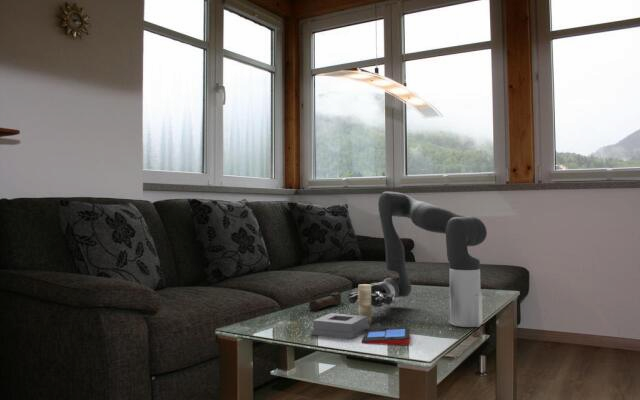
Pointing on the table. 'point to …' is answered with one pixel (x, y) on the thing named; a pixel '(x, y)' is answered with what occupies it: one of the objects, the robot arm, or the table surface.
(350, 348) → the table surface
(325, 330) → the tool holder
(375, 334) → the game console
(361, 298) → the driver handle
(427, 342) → the table surface
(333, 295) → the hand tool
